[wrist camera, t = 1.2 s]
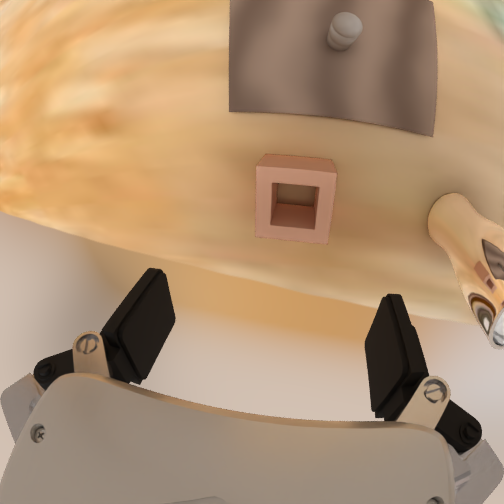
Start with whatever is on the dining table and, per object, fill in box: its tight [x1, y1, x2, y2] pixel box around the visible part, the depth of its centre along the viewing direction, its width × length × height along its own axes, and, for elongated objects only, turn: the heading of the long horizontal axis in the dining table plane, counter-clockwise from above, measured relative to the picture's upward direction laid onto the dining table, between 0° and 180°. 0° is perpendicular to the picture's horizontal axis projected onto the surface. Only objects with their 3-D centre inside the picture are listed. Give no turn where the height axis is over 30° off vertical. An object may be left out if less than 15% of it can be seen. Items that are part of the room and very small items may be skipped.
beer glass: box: [427, 193, 504, 349], centre depth 16 cm, size 7×7×15 cm
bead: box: [255, 154, 337, 244], centre depth 23 cm, size 6×6×5 cm
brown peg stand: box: [229, 0, 437, 137], centre depth 14 cm, size 18×14×8 cm
